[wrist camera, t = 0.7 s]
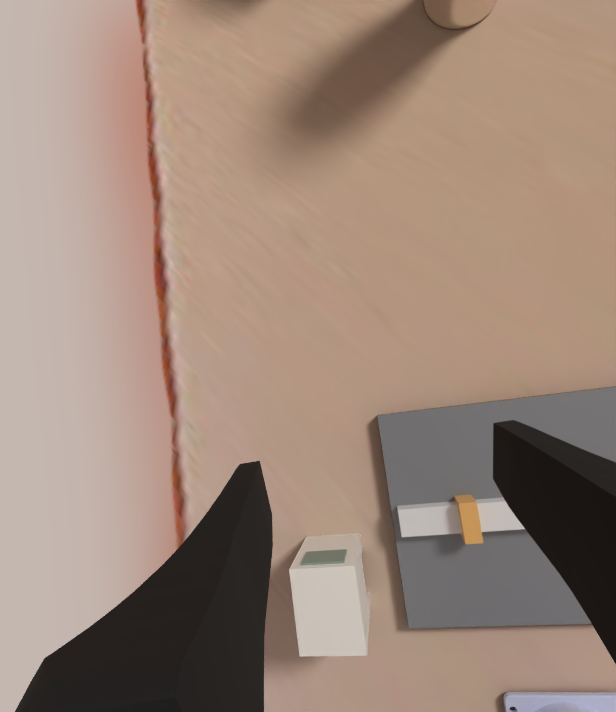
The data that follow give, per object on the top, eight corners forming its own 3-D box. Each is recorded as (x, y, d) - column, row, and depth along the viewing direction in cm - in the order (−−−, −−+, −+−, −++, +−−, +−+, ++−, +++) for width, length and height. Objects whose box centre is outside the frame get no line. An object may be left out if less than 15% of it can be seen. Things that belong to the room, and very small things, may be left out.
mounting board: (736, 611, 27) (778, 638, 24) (408, 620, 31) (410, 645, 28) (684, 378, 29) (718, 377, 26) (377, 415, 33) (376, 417, 30)
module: (370, 605, 32) (366, 655, 26) (315, 607, 33) (299, 656, 27) (360, 531, 32) (354, 563, 27) (305, 535, 33) (288, 567, 27)
